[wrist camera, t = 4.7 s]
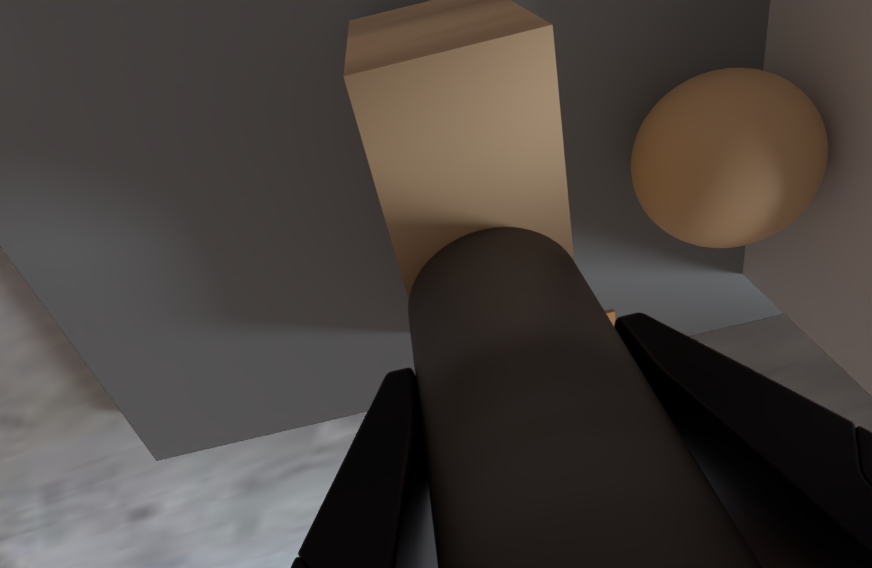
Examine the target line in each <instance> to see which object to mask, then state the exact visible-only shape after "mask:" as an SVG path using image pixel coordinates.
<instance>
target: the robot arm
mask: <svg viewBox="0 0 872 568" xmlns="http://www.w3.org/2000/svg"><path fill="white" fill-rule="evenodd" d="M614 327H615V329H616V331H617V332H618V334H619V335H620V337H621V339H622V340H623V342H624V344H625V345H626V347H627V348H628V350H629V352H630V353H631V355H632V357H633V358H634V360H635V362H636V363H637V365H638V366H639V368H640V370H641V371H642V373H643V375H644V376H645V378H646V379H647V381H648V383H649V384H650V386H651V388H652V389H653V391H654V393H655V394H656V396H657V397H658V399H659V401H660V402H661V404H662V406H663V407H664V409H665V411H666V412H667V414H668V415H669V417H670V419H671V420H672V422H673V424H674V425H675V427H676V428H677V430H678V432H679V433H680V435H681V437H682V438H683V440H684V442H685V443H686V445H687V446H688V448H689V450H690V451H691V453H692V455H693V456H694V458H695V460H696V461H697V463H698V464H699V466H700V468H701V469H702V471H703V473H704V474H705V476H706V477H707V479H708V481H709V482H710V484H711V486H712V487H713V489H714V491H715V492H716V494H717V495H718V497H719V499H720V500H721V502H722V504H723V505H724V507H725V509H726V510H727V512H728V513H729V515H730V517H731V518H732V520H733V522H734V523H735V525H736V526H737V528H738V530H739V531H740V533H741V535H742V536H743V538H744V540H745V541H746V543H747V544H748V546H749V548H750V549H751V551H752V553H753V554H754V556H755V558H756V559H757V561H758V562H759V564H760V566H761V567H762V568H872V432H871V431H869V430H867V429H865V428H863V427H861V426H858V427H855V424H854V423H853V422H851V421H849V420H847V419H846V418H844V417H842V416H840V415H838V414H836V413H834V412H832V411H830V410H828V409H826V408H825V407H823V406H821V405H819V404H817V403H815V402H813V401H811V400H809V399H807V398H805V397H803V396H802V395H800V394H798V393H796V392H794V391H792V390H790V389H788V388H786V387H784V386H782V385H780V384H779V383H777V382H775V381H773V380H771V379H769V378H767V377H765V376H763V375H761V374H759V373H757V372H756V371H754V370H752V369H750V368H748V367H746V366H744V365H742V364H740V363H738V362H736V361H734V360H733V359H731V358H729V357H727V356H725V355H723V354H721V353H719V352H717V351H715V350H713V349H711V348H710V347H708V346H706V345H704V344H702V343H700V342H698V341H696V340H694V339H692V338H690V337H689V336H687V335H685V334H683V333H681V332H679V331H677V330H675V329H673V328H671V327H669V326H667V325H666V324H664V323H662V322H660V321H658V320H656V319H654V318H652V317H650V316H648V315H646V314H644V313H641V312H638V313H633V314H629V315H625V316H620V317H618V318H617V319H616V320H615V324H614ZM298 555H299V557H296V558H295V560H294V562H293V564H292V566H291V568H438V563H437V554H436V546H435V537H434V529H433V520H432V512H431V503H430V495H429V487H428V478H427V470H426V461H425V453H424V443H423V434H422V426H421V417H420V409H419V401H418V392H417V384H416V376H415V373H414V371H413V370H412V369H411V368H409V367H408V368H403V369H399V370H395V371H391V372H388V373H387V374H386V375H385V377H384V379H383V381H382V383H381V385H380V387H379V389H378V392H377V394H376V396H375V398H374V400H373V402H372V404H371V406H370V408H369V410H368V412H367V414H366V416H365V418H364V420H363V422H362V424H361V426H360V428H359V430H358V432H357V434H356V436H355V438H354V440H353V442H352V444H351V446H350V448H349V450H348V453H347V455H346V457H345V459H344V461H343V463H342V465H341V467H340V469H339V471H338V473H337V475H336V477H335V479H334V481H333V483H332V485H331V487H330V489H329V491H328V493H327V495H326V497H325V499H324V501H323V503H322V505H321V507H320V509H319V511H318V514H317V516H316V518H315V520H314V522H313V524H312V526H311V528H310V530H309V532H308V534H307V536H306V538H305V540H304V542H303V544H302V546H301V548H300V550H299V552H298Z"/></svg>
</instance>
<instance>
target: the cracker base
mask: <svg viewBox="0 0 872 568" xmlns="http://www.w3.org/2000/svg"><path fill="white" fill-rule="evenodd" d="M426 1H430V0H0V247H1V248H2V249H3V251H4V252H5V254H6V255H7V256H8V258H9V259H10V260H11V262H12V263H13V265H14V266H15V267H16V269H17V270H18V271H19V273H20V274H21V276H22V277H23V278H24V280H25V281H26V282H27V284H28V285H29V287H30V288H31V289H32V291H33V292H34V293H35V295H36V296H37V297H38V299H39V300H40V302H41V303H42V304H43V306H44V307H45V308H46V310H47V311H48V313H49V314H50V315H51V317H52V318H53V319H54V321H55V322H56V324H57V325H58V326H59V328H60V329H61V330H62V332H63V333H64V335H65V336H66V337H67V339H68V340H69V341H70V343H71V344H72V346H73V347H74V348H75V350H76V351H77V352H78V354H79V355H80V357H81V358H82V359H83V361H84V362H85V363H86V365H87V366H88V367H89V369H90V370H91V372H92V373H93V374H94V376H95V377H96V378H97V380H98V381H99V383H100V384H101V385H102V387H103V388H104V389H105V391H106V392H107V394H108V395H109V396H110V398H111V399H112V400H113V402H114V403H115V405H116V406H117V407H118V409H119V410H120V411H121V413H122V414H123V416H124V417H125V418H126V420H127V421H128V422H129V424H130V425H131V427H132V428H133V429H134V431H135V432H136V433H137V435H138V436H139V437H140V439H141V440H142V442H143V443H144V444H145V446H146V447H147V448H148V450H149V451H150V453H151V454H152V455H153V457H154V458H155V459H156V461H158V460H162V459H166V458H171V457H175V456H179V455H184V454H188V453H192V452H196V451H201V450H205V449H209V448H213V447H218V446H222V445H226V444H231V443H235V442H239V441H243V440H248V439H252V438H256V437H260V436H265V435H269V434H273V433H278V432H282V431H286V430H290V429H295V428H299V427H303V426H307V425H312V424H316V423H320V422H325V421H329V420H333V419H337V418H342V417H346V416H350V415H354V414H359V413H363V412H367V411H368V410H369V408H370V406H371V404H372V402H373V400H374V398H375V396H376V394H377V392H378V389H379V387H380V385H381V383H382V381H383V379H384V377H385V375H386V374H387V373H388V372H391V371H395V370H399V369H403V368H408V367H409V368H411V369H412V370H413V371H414V373H415V368H414V360H413V351H412V343H411V335H410V326H409V318H408V303H409V300H408V297H407V293H406V290H405V286H404V283H403V280H402V276H401V273H400V269H399V266H398V262H397V259H396V256H395V252H394V249H393V245H392V242H391V238H390V235H389V231H388V228H387V225H386V221H385V218H384V214H383V211H382V207H381V204H380V201H379V197H378V194H377V190H376V187H375V183H374V180H373V176H372V173H371V170H370V166H369V163H368V159H367V156H366V152H365V149H364V146H363V142H362V139H361V135H360V132H359V128H358V125H357V121H356V118H355V115H354V111H353V108H352V104H351V101H350V97H349V94H348V91H347V87H346V84H345V80H344V77H343V75H344V66H345V56H346V47H347V37H348V27H349V21H350V20H354V19H358V18H362V17H366V16H370V15H374V14H378V13H382V12H386V11H390V10H394V9H398V8H402V7H406V6H410V5H414V4H418V3H422V2H426ZM511 1H513V2H515V3H516V4H518V5H520V6H521V7H523V8H525V9H527V10H528V11H530V12H532V13H533V14H535V15H537V16H539V17H540V18H542V19H544V20H545V21H547V22H549V23H551V24H552V25H553V34H554V45H555V57H556V68H557V79H558V90H559V101H560V112H561V123H562V134H563V145H564V156H565V167H566V178H567V189H568V200H569V211H570V222H571V233H572V244H573V255H574V262H575V264H576V265H577V267H578V268H579V270H580V272H581V273H582V275H583V277H584V278H585V280H586V282H587V283H588V285H589V286H590V288H591V290H592V291H593V293H594V295H595V296H596V298H597V299H598V301H599V303H600V304H601V306H602V308H603V309H604V311H605V313H606V314H607V316H608V317H609V319H610V321H611V322H612V324H613V326H614V324H615V320H616V319H617V318H618V317H620V316H625V315H629V314H633V313H638V312H641V313H644V314H646V315H648V316H650V317H652V318H654V319H656V320H658V321H660V322H662V323H664V324H666V325H667V326H669V327H671V328H673V329H675V330H677V331H679V332H681V333H683V334H685V335H687V336H692V335H696V334H701V333H705V332H709V331H713V330H718V329H722V328H726V327H731V326H735V325H739V324H743V323H748V322H752V321H756V320H760V319H765V318H769V317H773V316H778V315H782V314H785V315H786V316H787V317H788V318H789V319H790V320H791V321H792V322H794V323H795V324H796V325H797V326H798V327H799V328H800V329H801V330H802V331H803V332H804V333H805V334H806V335H807V336H808V337H809V338H810V339H811V340H813V341H814V342H815V343H816V344H817V345H818V346H819V347H820V348H821V349H822V350H823V351H824V352H825V353H826V354H827V355H828V356H829V357H830V358H832V359H833V360H834V361H835V362H836V363H837V364H838V365H839V366H840V367H841V368H842V369H843V370H844V371H845V372H846V373H847V374H848V375H849V376H851V377H852V378H853V379H854V380H855V381H856V382H857V383H858V384H859V385H860V386H861V387H862V388H863V389H864V390H865V391H866V392H867V393H868V394H870V395H871V396H872V0H511Z"/></svg>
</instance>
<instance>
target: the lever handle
mask: <svg viewBox="0 0 872 568" xmlns="http://www.w3.org/2000/svg"><path fill="white" fill-rule="evenodd" d="M343 77H344V80H345V84H346V87H347V91H348V94H349V97H350V101H351V104H352V108H353V111H354V115H355V118H356V121H357V125H358V128H359V132H360V135H361V139H362V142H363V146H364V149H365V152H366V156H367V159H368V163H369V166H370V170H371V173H372V176H373V180H374V183H375V187H376V190H377V194H378V197H379V201H380V204H381V207H382V211H383V214H384V218H385V221H386V225H387V228H388V231H389V235H390V238H391V242H392V245H393V249H394V252H395V256H396V259H397V262H398V266H399V269H400V273H401V276H402V280H403V283H404V286H405V290H406V293H407V297H408V300H409V303H408V318H409V326H410V335H411V343H412V351H413V360H414V368H415V376H416V384H417V392H418V401H419V409H420V417H421V426H422V434H423V443H424V453H425V461H426V470H427V478H428V487H429V495H430V503H431V512H432V520H433V529H434V537H435V546H436V554H437V563H438V568H762V567H761V566H760V564H759V562H758V561H757V559H756V558H755V556H754V554H753V553H752V551H751V549H750V548H749V546H748V544H747V543H746V541H745V540H744V538H743V536H742V535H741V533H740V531H739V530H738V528H737V526H736V525H735V523H734V522H733V520H732V518H731V517H730V515H729V513H728V512H727V510H726V509H725V507H724V505H723V504H722V502H721V500H720V499H719V497H718V495H717V494H716V492H715V491H714V489H713V487H712V486H711V484H710V482H709V481H708V479H707V477H706V476H705V474H704V473H703V471H702V469H701V468H700V466H699V464H698V463H697V461H696V460H695V458H694V456H693V455H692V453H691V451H690V450H689V448H688V446H687V445H686V443H685V442H684V440H683V438H682V437H681V435H680V433H679V432H678V430H677V428H676V427H675V425H674V424H673V422H672V420H671V419H670V417H669V415H668V414H667V412H666V411H665V409H664V407H663V406H662V404H661V402H660V401H659V399H658V397H657V396H656V394H655V393H654V391H653V389H652V388H651V386H650V384H649V383H648V381H647V379H646V378H645V376H644V375H643V373H642V371H641V370H640V368H639V366H638V365H637V363H636V362H635V360H634V358H633V357H632V355H631V353H630V352H629V350H628V348H627V347H626V345H625V344H624V342H623V340H622V339H621V337H620V335H619V334H618V332H617V331H616V329H615V327H614V326H613V324H612V322H611V321H610V319H609V317H608V316H607V314H606V313H605V311H604V309H603V308H602V306H601V304H600V303H599V301H598V299H597V298H596V296H595V295H594V293H593V291H592V290H591V288H590V286H589V285H588V283H587V282H586V280H585V278H584V277H583V275H582V273H581V272H580V270H579V268H578V267H577V265H576V264H575V262H574V255H573V244H572V233H571V222H570V211H569V200H568V189H567V178H566V167H565V156H564V145H563V134H562V123H561V112H560V101H559V90H558V79H557V68H556V57H555V45H554V34H553V25H552V24H551V23H549V22H547V21H545V20H544V19H542V18H540V17H539V16H537V15H535V14H533V13H532V12H530V11H528V10H527V9H525V8H523V7H521V6H520V5H518V4H516V3H515V2H513V1H511V0H430V1H426V2H422V3H418V4H414V5H410V6H406V7H402V8H398V9H394V10H390V11H386V12H382V13H378V14H374V15H370V16H366V17H362V18H358V19H354V20H350V21H349V27H348V37H347V47H346V56H345V66H344V75H343Z"/></svg>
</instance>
